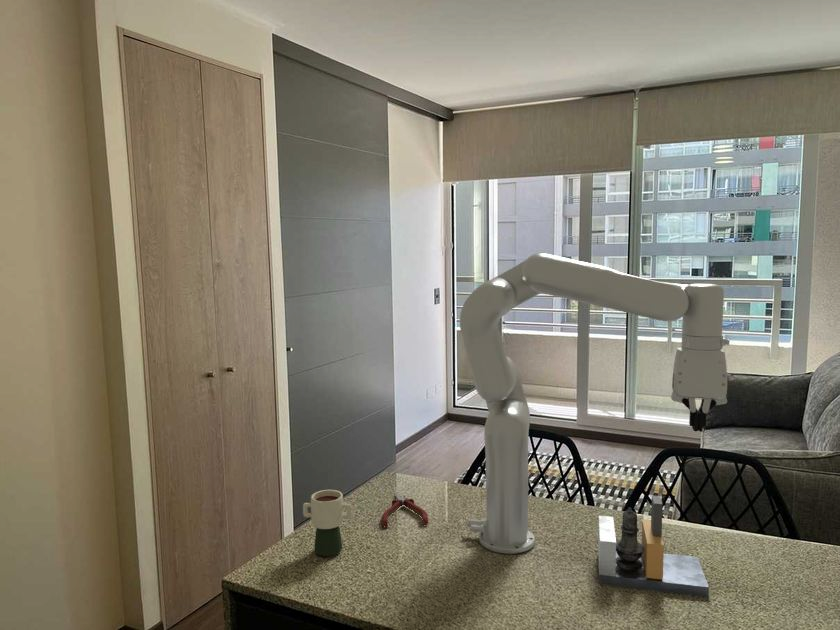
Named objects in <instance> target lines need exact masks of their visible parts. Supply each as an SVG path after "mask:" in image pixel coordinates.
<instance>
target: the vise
mask: <svg viewBox="0 0 840 630" xmlns="http://www.w3.org/2000/svg"><path fill="white" fill-rule="evenodd" d="M597 524H598V527H597V529H598V530H597V531H598V532H597V535H598V536H597V537H598V538H597V542H598V543H597V561H598V562H597V563H598V581H599V582H598V583H599V585H602V586H603V585H605V586H610V587H611V586H612V587H620V588H629V589H638V590H644V591H645V590H646V591H652V592H653V591H654V592H662V593H663V592H664V593H670V594H679V595H687V596H695V597H704V598H705V597H706V598H709V595H710V594H709V593H710V587H709V586H710V585H709V584H708V581H707V579H706V575H705V573H704V571H703V567H702V564H701V562H700V560H699V557H698V556H693V555H692V556H691V555H682V554H674V553H672V554H671V553H664V559H663V580H662V579H653V578H646V572H645V567H644V562H643V557H642V556H641V558H640V559H638V560H640V561H641V562H642V567H641V568H640V569H636V570H630V569H625V568H622V567H620V566H618V565H617V564H616V559H617V558H618V557H619V556H618V554H617V552H616V542H617V539H616V532H615V531H616V529H615V522H614V516H607V515H598V523H597Z"/></svg>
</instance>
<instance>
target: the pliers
mask: <svg viewBox="0 0 840 630" xmlns="http://www.w3.org/2000/svg"><path fill="white" fill-rule="evenodd" d="M395 494H396V495H395V498H396V499H397V500H396V499H395V498H394V499H393V500H391V506H389V508H388V509H386V510H385V511H384V512H383V514H382V516H381V523H382V527H383V526H385V527H388V525H389V519H388V517H389V516H390V515H391V514H392V513H394V512H395V511H396V510H397V509H398V508H399V507H400V506H402V505H405V506H406V507H408V508H409V509H411V510H413V511H414V512H415V513H417V514H418V515H420V516H421V517H422V519H423V520H422V519H421V520H422V525H427V524H429V516H428V513H427V511H425V510H424V509H423V508H421V506H418V505H417V504H415V500H414V499H413V498H409V496H408V495H409V494H408V491H406V492H405V493H404V495H403V498H402V497H401V495H400V494H399V492H397V491H396V492H395ZM418 515H417V516H418ZM387 519H388V520H387ZM427 526H428V525H427ZM388 528H389V527H388Z"/></svg>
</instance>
